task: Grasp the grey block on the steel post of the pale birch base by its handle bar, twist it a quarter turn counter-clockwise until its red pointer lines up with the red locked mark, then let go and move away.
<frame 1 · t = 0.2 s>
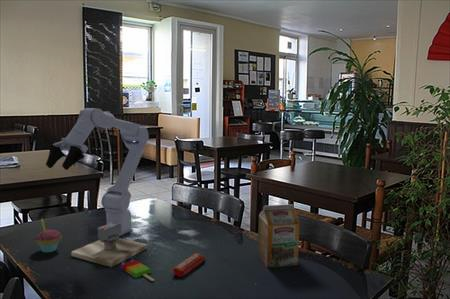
hand: (56, 167, 135), 31 cm above the table, tool tilted 45°, fingers open, 7 cm apart
candy bar: (189, 269, 133), on the table
popsicle: (140, 275, 128), on the table
milk carton: (277, 260, 140), on the table
grey block: (109, 231, 144), point 7 cm above the table, hinge at 0.0°
cupcake: (49, 250, 146), on the table
post base: (110, 252, 145), on the table
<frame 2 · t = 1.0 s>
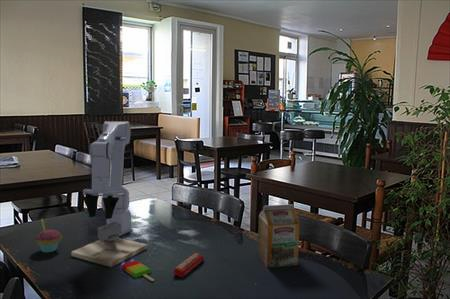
hand: (100, 217, 140), 13 cm above the table, tool pointing down, fingers open, 7 cm apart
nothing on the table moved.
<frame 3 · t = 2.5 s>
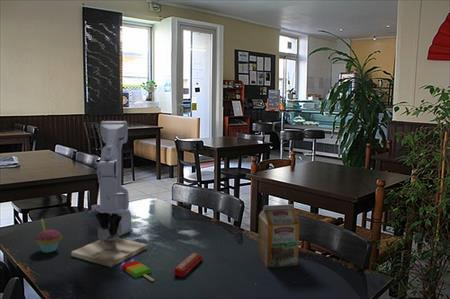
hand: (109, 233, 144), 7 cm above the table, tool pointing down, fingers closed on grey block, 3 cm apart
grey block: (109, 231, 144), point 7 cm above the table, hinge at 0.0°, touching gripper
everything else where it was.
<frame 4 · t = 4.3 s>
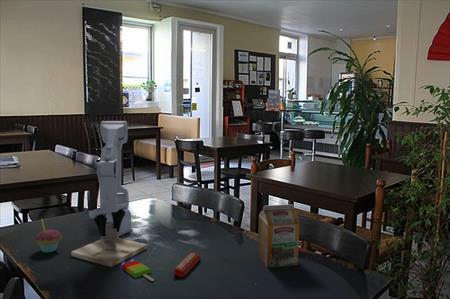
hand: (109, 233, 144), 7 cm above the table, tool pointing down, fingers closed on grey block, 5 cm apart
grey block: (109, 231, 144), point 7 cm above the table, hinge at 54.5°, touching gripper
everything else where it was.
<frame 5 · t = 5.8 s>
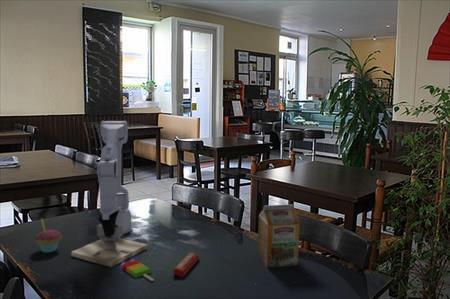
hand: (109, 233, 144), 7 cm above the table, tool pointing down, fingers closed on grey block, 5 cm apart
grey block: (109, 231, 144), point 7 cm above the table, hinge at 100.4°, touching gripper
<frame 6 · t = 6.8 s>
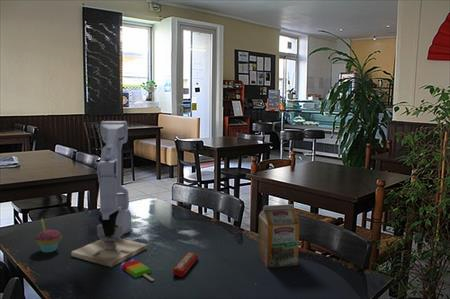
hand: (109, 233, 144), 7 cm above the table, tool pointing down, fingers closed on grey block, 5 cm apart
grey block: (109, 231, 144), point 7 cm above the table, hinge at 100.3°, touching gripper
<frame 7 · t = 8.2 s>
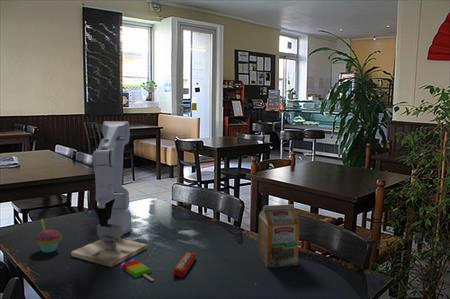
hand: (105, 222, 144), 10 cm above the table, tool pointing down, fingers open, 7 cm apart
grey block: (109, 231, 144), point 7 cm above the table, hinge at 99.9°
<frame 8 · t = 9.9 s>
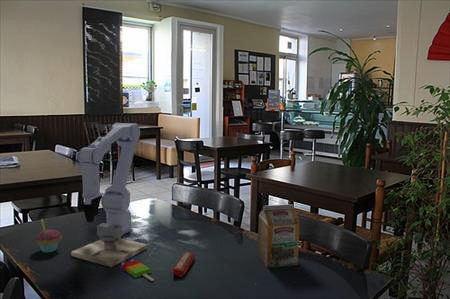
hand: (92, 218, 148), 10 cm above the table, tool pointing down, fingers open, 7 cm apart
at the end: grey block at +100° (first picture: +0°); cupcake moved 0.2 cm from its start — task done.
